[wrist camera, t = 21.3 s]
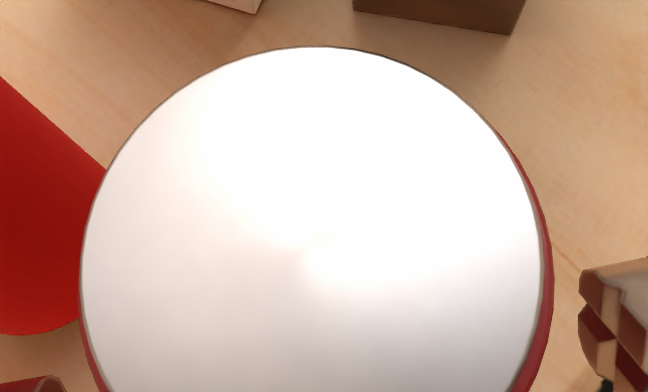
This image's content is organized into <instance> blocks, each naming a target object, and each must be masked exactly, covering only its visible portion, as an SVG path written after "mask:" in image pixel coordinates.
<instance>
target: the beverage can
mask: <svg viewBox="0 0 648 392" xmlns="http://www.w3.org/2000/svg"><path fill="white" fill-rule="evenodd" d="M105 172H106V170H105V169H104V168H103V167H102V166H101V165H100V164H99V163H98V162H97V161H95V160H94V159H93V158H92V157H91V156H90V155H89V154H88V153H86V152H85V151H84V150H83V149H82V148H81V147H80V146H79V145H77V144H76V143H75V142H74V141H73V140H72V139H71V138H69V137H68V136H67V135H66V134H65V133H64V132H63V131H62V130H60V129H59V128H58V127H57V126H56V125H55V124H54V123H53V122H51V121H50V120H49V119H48V118H47V117H46V116H45V115H43V114H42V113H41V112H40V111H39V110H38V109H37V108H36V107H34V106H33V105H32V104H31V103H30V102H29V101H28V100H26V99H25V98H24V97H23V96H22V95H21V94H20V93H19V92H17V91H16V90H15V89H14V88H13V87H12V86H11V85H10V84H8V83H7V82H6V81H5V80H4V79H3V78H2V77H0V334H7V335H19V336H23V335H34V334H40V333H45V332H48V331H52V330H55V329H57V328H60V327H62V326H64V325H66V324H68V323H70V322H72V321H74V320H76V319H77V318H79V313H78V303H77V287H78V266H79V260H80V253H81V247H82V241H83V235H84V229H85V226H86V222H87V219H88V215H89V212H90V208H91V205H92V202H93V199H94V197H95V195H96V192H97V190H98V188H99V185H100V183H101V181H102V178H103V176H104V174H105Z"/></svg>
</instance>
